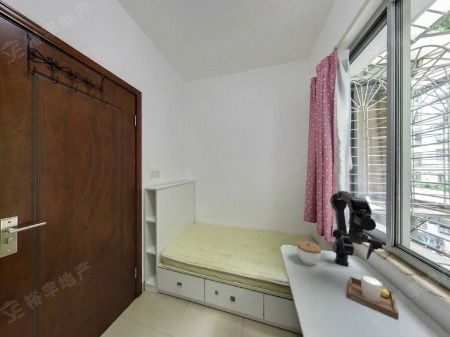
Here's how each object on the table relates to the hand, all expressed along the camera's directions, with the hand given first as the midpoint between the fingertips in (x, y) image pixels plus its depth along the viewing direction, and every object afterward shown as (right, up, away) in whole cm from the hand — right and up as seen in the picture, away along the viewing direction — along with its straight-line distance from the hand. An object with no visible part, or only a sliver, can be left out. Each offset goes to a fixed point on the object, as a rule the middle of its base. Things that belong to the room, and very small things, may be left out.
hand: (354, 255), depth 82 cm
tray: (-2, -12, -12) cm, 17 cm away
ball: (+4, -12, -11) cm, 16 cm away
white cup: (-2, -12, -12) cm, 16 cm away
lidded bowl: (-15, -11, +15) cm, 24 cm away
